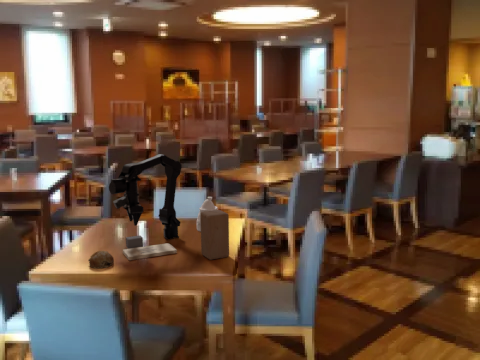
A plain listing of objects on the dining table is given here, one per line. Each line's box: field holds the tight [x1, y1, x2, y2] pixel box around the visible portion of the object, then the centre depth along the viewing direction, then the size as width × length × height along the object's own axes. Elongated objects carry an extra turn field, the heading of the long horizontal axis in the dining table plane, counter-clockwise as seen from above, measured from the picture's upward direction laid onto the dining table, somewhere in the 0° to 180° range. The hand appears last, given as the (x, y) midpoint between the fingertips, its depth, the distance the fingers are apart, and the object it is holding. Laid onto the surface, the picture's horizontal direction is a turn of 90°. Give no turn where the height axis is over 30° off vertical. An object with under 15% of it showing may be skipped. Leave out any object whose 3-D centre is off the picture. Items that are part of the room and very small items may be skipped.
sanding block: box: [125, 235, 144, 249], centre depth 228 cm, size 7×4×5 cm, turn 116°
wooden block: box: [200, 209, 230, 261], centre depth 213 cm, size 10×10×20 cm
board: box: [122, 243, 178, 261], centre depth 219 cm, size 22×12×2 cm, turn 116°
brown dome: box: [88, 250, 115, 269], centre depth 204 cm, size 10×10×8 cm
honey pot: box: [196, 196, 219, 233], centre depth 258 cm, size 13×13×18 cm
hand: (133, 223), depth 227 cm, fingers open, 9 cm apart
